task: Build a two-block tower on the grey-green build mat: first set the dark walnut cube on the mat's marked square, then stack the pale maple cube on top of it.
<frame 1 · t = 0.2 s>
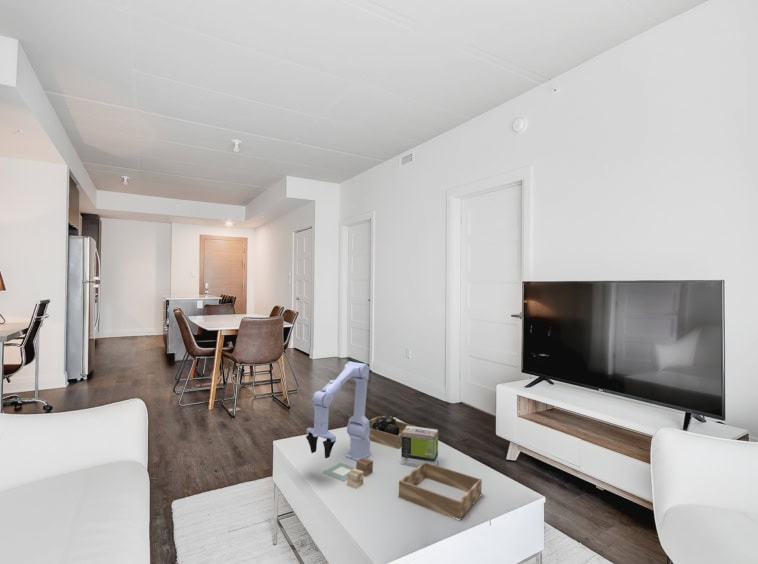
hand: (320, 454, 161), 10 cm above the table, fingers open, 7 cm apart
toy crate: (440, 496, 150), on the table
build mat: (342, 471, 167), on the table
film camera: (387, 437, 207), resting in camera crate
tea box: (419, 463, 178), on the table
walnut block: (364, 472, 167), on the table, touching build mat
camera crate: (387, 437, 207), on the table
maple block: (355, 484, 157), on the table
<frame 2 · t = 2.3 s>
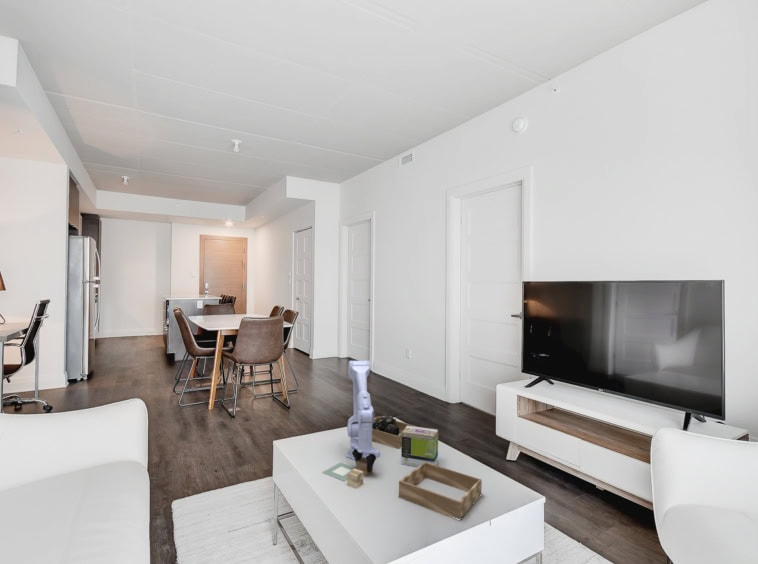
hand: (364, 469, 167), 1 cm above the table, fingers closed on walnut block, 5 cm apart
walnut block: (364, 472, 167), on the table, touching build mat, gripper
everything else where it was.
when the fingers open (3 cm above the table, at t = 5.4 s): walnut block stays where it is, resting on build mat.
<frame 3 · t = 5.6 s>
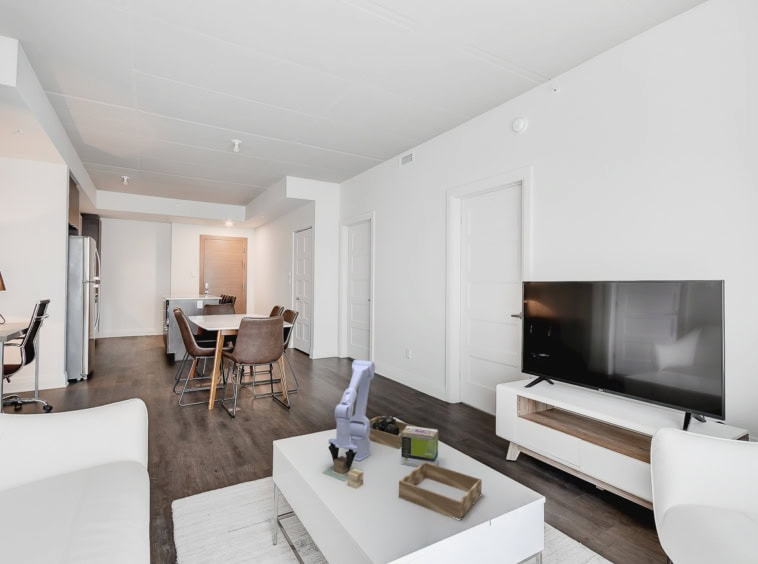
hand: (342, 464, 167), 3 cm above the table, fingers open, 7 cm apart
walnut block: (342, 471, 167), resting on build mat
everything else where it was.
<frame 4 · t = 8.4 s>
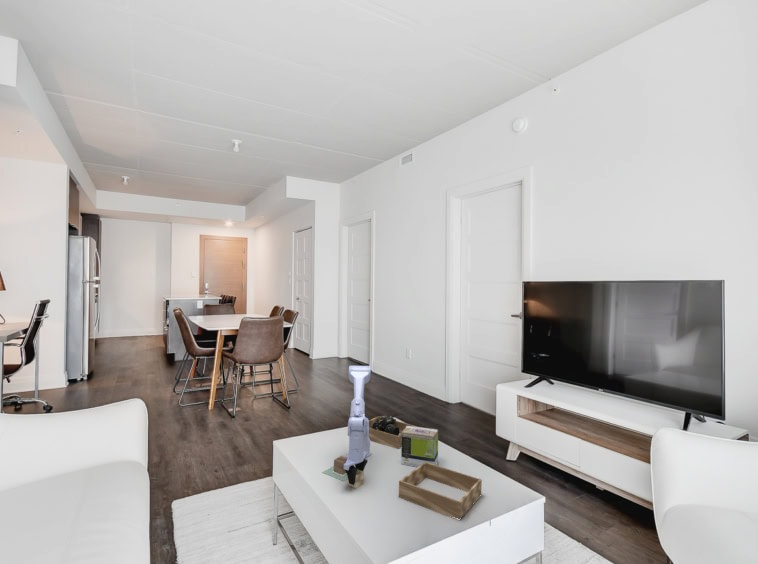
hand: (355, 480, 157), 1 cm above the table, fingers closed on maple block, 5 cm apart
maple block: (355, 484, 157), on the table, touching gripper
everything else where it was.
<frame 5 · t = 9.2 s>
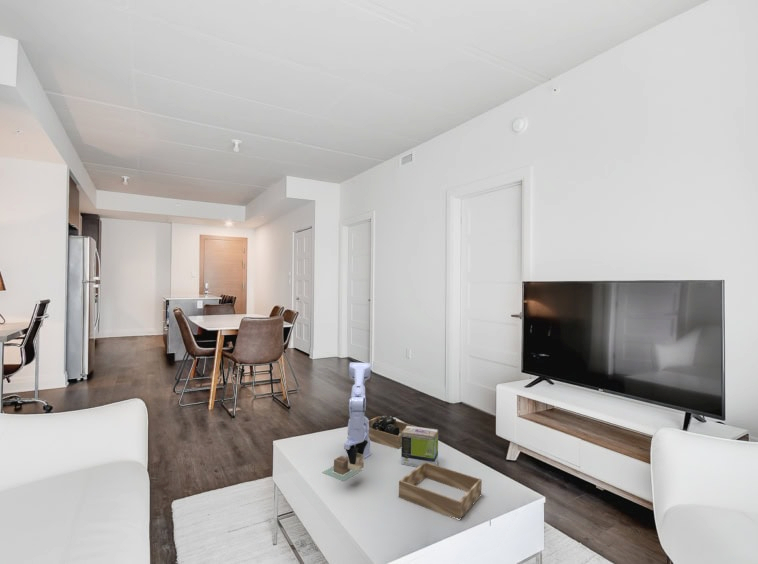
hand: (355, 461, 157), 9 cm above the table, fingers closed on maple block, 4 cm apart
maple block: (355, 467, 157), point 7 cm above the table, touching gripper
everything else where it was.
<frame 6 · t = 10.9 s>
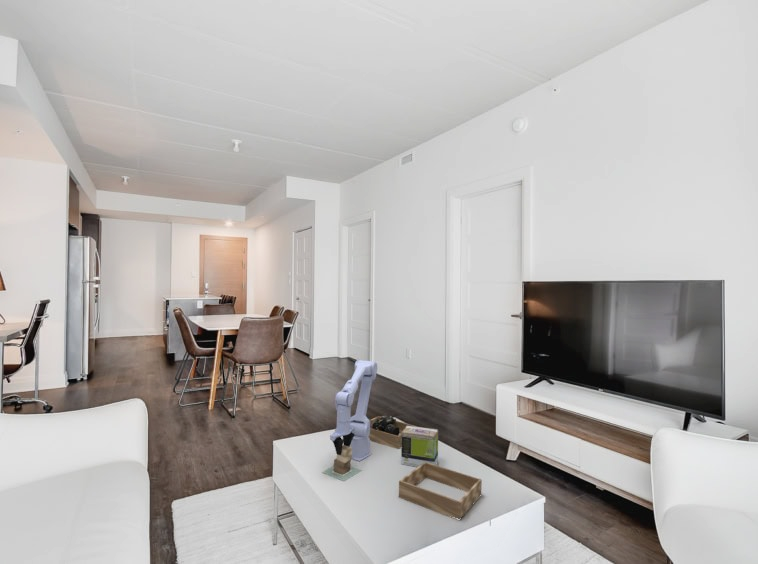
hand: (342, 452, 168), 8 cm above the table, fingers closed on maple block, 4 cm apart
walnut block: (342, 471, 167), resting on build mat, touching maple block
maple block: (344, 459, 167), point 5 cm above the table, touching gripper, walnut block
everything else where it was.
when the fingers open (8 cm above the table, at t = 10.9 s): maple block stays where it is, resting on walnut block.
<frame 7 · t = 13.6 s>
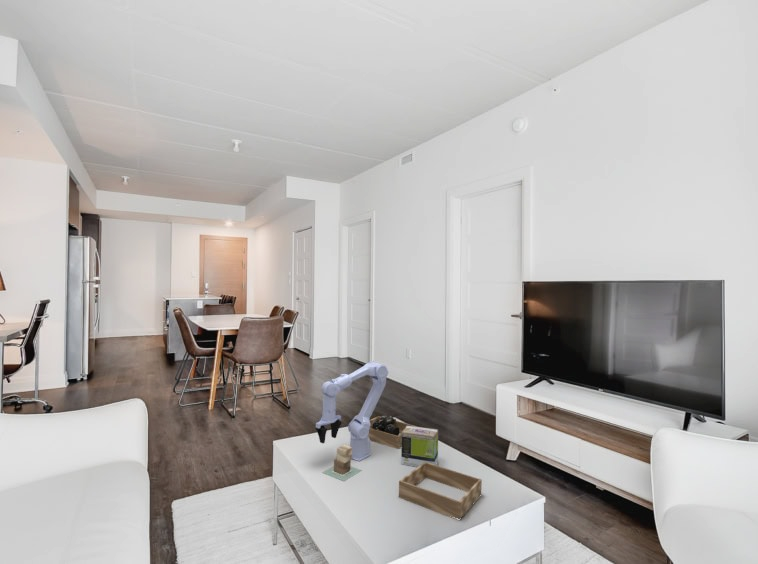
hand: (328, 440, 175), 10 cm above the table, fingers open, 7 cm apart
maple block: (344, 459, 167), point 5 cm above the table, touching walnut block
everything else where it was.
at the end: walnut block inside the target area on the build mat (0.1 cm from its centre), point 0.3 cm above the build mat's base; maple block 1.0 cm off-centre on the walnut block, point 5.0 cm above the walnut block's base; maple block tilted 0° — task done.
